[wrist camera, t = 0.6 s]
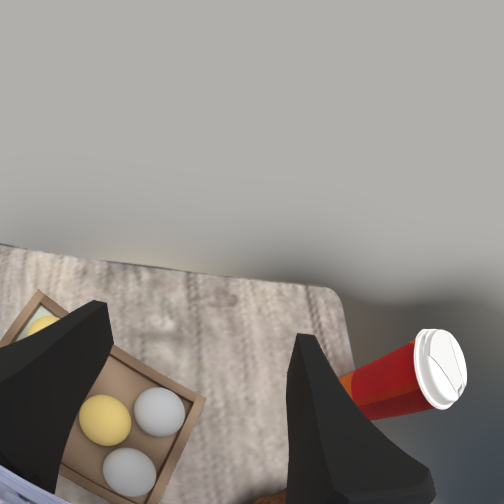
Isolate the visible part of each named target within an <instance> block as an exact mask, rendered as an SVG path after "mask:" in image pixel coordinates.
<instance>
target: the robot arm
mask: <svg viewBox="0 0 504 504" xmlns="http://www.w3.org/2000/svg"><path fill="white" fill-rule="evenodd" d="M113 344H114V341H113V336H112V331H111V325H110V319H109V314H108V307H107V303H105V302H100V301H96V300H93V301H91V302H89V303H87V304H85V305H83V306H81V307H80V308H78V309H76V310H75V311H73V312H71V313H69V314H68V315H66V316H64V317H63V318H61V319H59V320H57V321H56V322H54V323H52V324H50V325H49V326H47V327H45V328H43V329H41V330H39V331H37V332H35V333H34V334H32V335H30V336H28V337H25V338H23V339H21V340H19V341H16V342H14V343H12V344H9V345H6V346H3V347H0V504H28V503H27V502H29V503H31V504H72V503H70V502H68V501H66V500H63V499H61V498H59V497H57V496H55V495H53V494H55V489H56V483H57V478H58V473H59V468H60V464H61V461H62V457H63V453H64V450H65V446H66V443H67V440H68V437H69V434H70V431H71V429H72V426H73V424H74V421H75V419H76V416H77V414H78V411H79V409H80V407H81V405H82V404H83V402H84V400H85V398H86V397H87V395H88V393H89V391H90V390H91V388H92V386H93V384H94V383H95V381H96V379H97V378H98V376H99V374H100V372H101V371H102V369H103V367H104V365H105V363H106V361H107V359H108V357H109V354H110V352H111V349H112V347H113ZM286 407H287V423H288V440H289V463H288V478H287V490H286V500H285V504H430V503H431V502H432V501H433V500H434V498H435V496H436V492H435V487H434V482H433V479H432V476H431V473H430V470H429V468H427V467H426V466H424V465H423V464H421V463H420V462H418V461H417V460H415V459H414V458H412V457H411V456H409V455H408V454H406V453H405V452H404V451H403V450H401V449H400V448H399V447H398V446H396V445H395V444H394V443H393V442H391V441H390V440H389V439H388V438H387V437H386V436H385V435H384V434H383V433H382V432H381V431H380V430H379V429H378V428H377V427H375V426H374V425H373V424H372V422H370V420H369V419H368V418H367V417H366V416H365V415H364V413H363V412H362V411H361V410H360V409H359V407H358V406H357V405H356V404H355V402H354V401H353V400H352V398H351V397H350V396H349V394H348V393H347V391H346V390H345V388H344V387H343V385H342V384H341V382H340V381H339V379H338V377H337V376H336V374H335V373H334V371H333V369H332V368H331V366H330V364H329V362H328V360H327V359H326V357H325V355H324V353H323V351H322V349H321V347H320V345H319V343H318V341H317V339H316V337H315V336H314V335H309V334H300V333H297V336H296V340H295V344H294V348H293V352H292V356H291V360H290V364H289V368H288V372H287V386H286ZM26 501H27V502H26Z"/></svg>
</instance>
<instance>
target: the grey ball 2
mask: <svg viewBox="0 0 504 504" xmlns="http://www.w3.org/2000/svg"><path fill="white" fill-rule="evenodd" d="M133 412H134V417H135V420H136V422H137V424H138V425H139V427H140V428H141V429H142V430H143V431H145V432H146V433H148V434H150V435H153V436H157V437H165V436H169V435H172V434H174V433H175V432H177V431H178V430H179V429H180V427H181V426H182V424H183V422H184V419H185V409H184V405H183V403H182V401H181V400H180V398H179V397H178V396H177V395H176V394H175V393H173V392H172V391H170V390H168V389H165V388H159V387H155V388H150V389H147V390H145V391H144V392H142V393H141V394H140V395H139V396H138V397H137V399H136V401H135V404H134V408H133Z"/></svg>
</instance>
